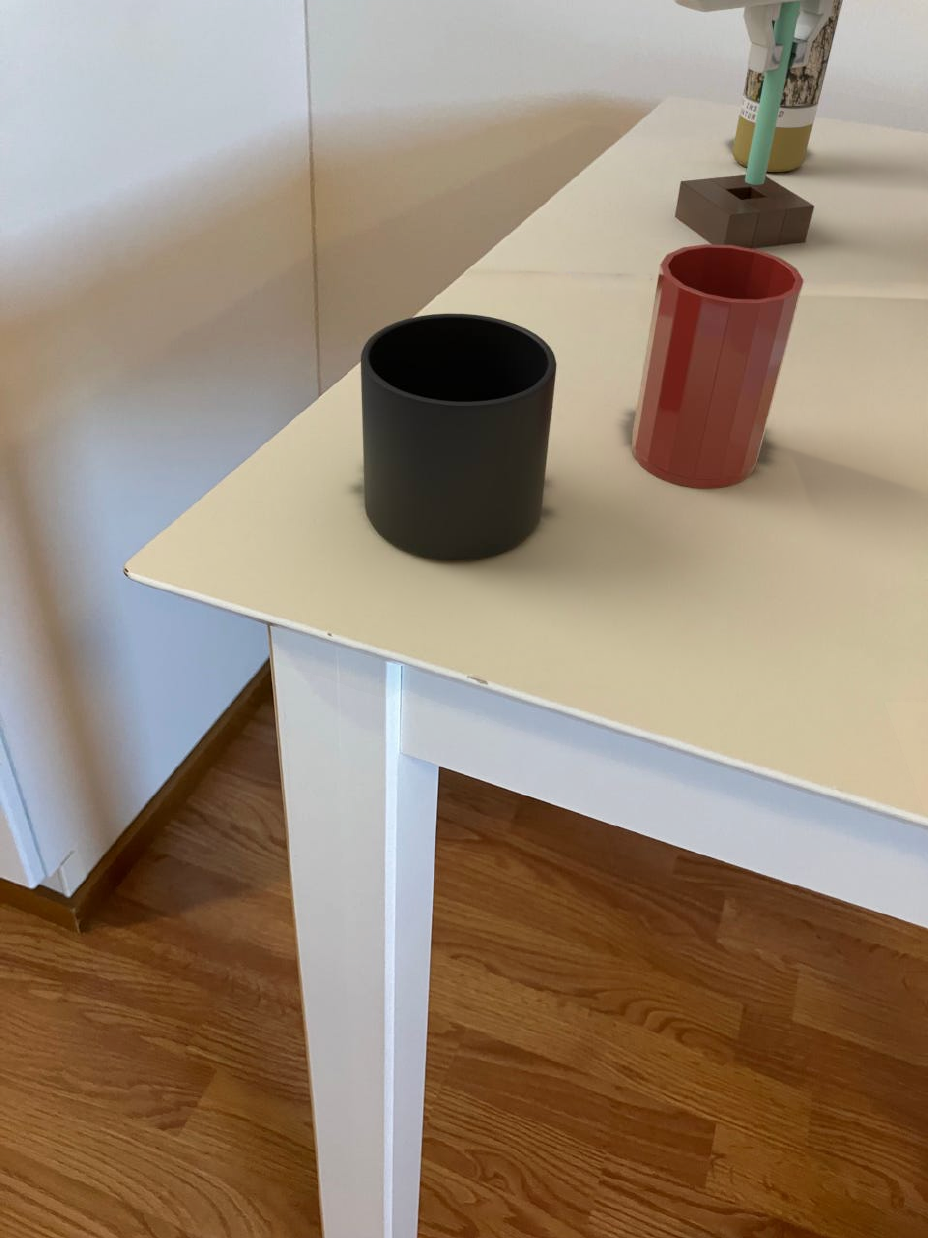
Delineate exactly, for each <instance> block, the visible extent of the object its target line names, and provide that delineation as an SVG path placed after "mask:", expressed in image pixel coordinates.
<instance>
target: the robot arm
mask: <svg viewBox="0 0 928 1238" xmlns="http://www.w3.org/2000/svg"><path fill="white" fill-rule="evenodd" d="M673 1H674V3H676V4H677V5H678V6H682V7H684V8H687V9H690V10H694V11H697V12H701V13H710V12H718V11H726V10H735V9H741V8H742V9H743V8H744V10H743V16H742V17H743V20H744V24H745V27H746V31H747V35H748V38H749V42H750V49H749V54H748V61H747V68H748V67H749V69H750V70H752V71H755V72H758V73H765V72H770V71H775V70H777V69H778V68H779V66H780V60H779V59H780V57H781V56H782V51H783V46H784V45H781V44H778V43H775V38H774V32H773V26H772V20H773V21H774V20H778V18H779V14H780V9H781V4H782V3H784V2H792V1H801V4H800V9H801V10H802V11H801V13H800V15H799V17H798V19H797V24H796V29H795V34H794V39H793V44H792V48H791V53H790V58H789V63H788V68H789V69H790V68H797V67H804V66H806V65H807V63H808V61H809V56H810V51H811V47H812V42H813V41H814V40H815V38H816V37H817V35H818V34H819V32H820V30H821V29H822V27H823V26H824V24H825V22H826V21H827V19H828V18H829V16H830V14H831V12H832V7H833V3H834V0H673Z"/></svg>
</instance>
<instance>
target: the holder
mask: <svg viewBox="0 0 928 1238" xmlns="http://www.w3.org/2000/svg"><path fill="white" fill-rule="evenodd" d="M745 176H746V174H738V175H737V174H736V175H729V176H728V175H727V176H719V177H718V176H717V177H716V176H715V177H709V178H708V177H706V178H698V179H697V178H696V179H687V180H681V181H680V184H679V190H678V195H677V201H676V206H675V213H674V218H675V219H677V220H678V221H680V222H681V223H682V224H684V225H685V226H686V227H688V228H689V229H690V230H692V231H693V232H694V233H696V234H697V235H698V236H700V237H701V238H702V239H704V240H705V241H707V243H709V244H713V245H734V246H739V247H744V248H750V249H755V250H756V249H761V248H762V249H763V248H770V247H771V248H772V247H777V246H787V245H795V244H802V243H803V244H804V243H806V241H807V237H808V233H809V229H810V225H811V222H812V217H813V213H814V209H815V205H814V204H812V203H811V202H809V201H807V200H805V199H804V198H802V197H801V196H799V195H798V194H796V193H794V192H792V190H790V189H788V188H786V187H785V186H783V185H781V184H780V183H778V182H776V181H775V180H773V179H772V178H770V177H769V176H767V175H766V176H765V181H764V183H763V184H761V185H752V184H748V183H746V182H745Z"/></svg>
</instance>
